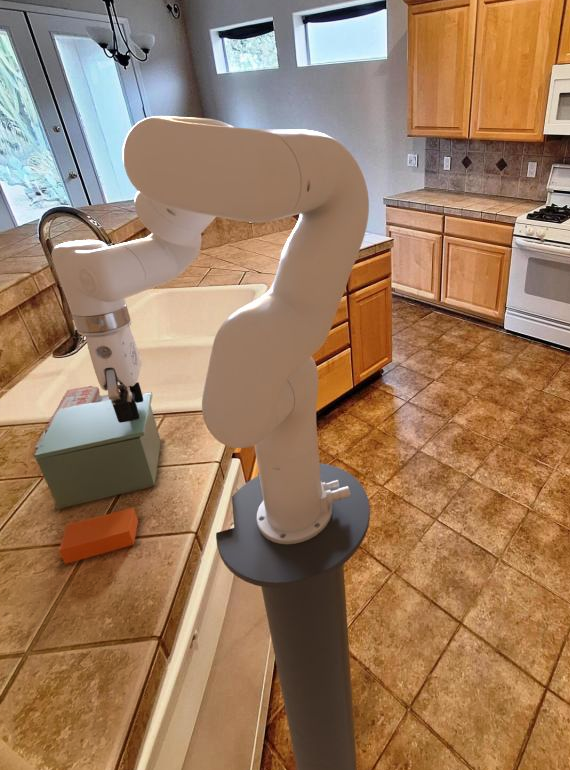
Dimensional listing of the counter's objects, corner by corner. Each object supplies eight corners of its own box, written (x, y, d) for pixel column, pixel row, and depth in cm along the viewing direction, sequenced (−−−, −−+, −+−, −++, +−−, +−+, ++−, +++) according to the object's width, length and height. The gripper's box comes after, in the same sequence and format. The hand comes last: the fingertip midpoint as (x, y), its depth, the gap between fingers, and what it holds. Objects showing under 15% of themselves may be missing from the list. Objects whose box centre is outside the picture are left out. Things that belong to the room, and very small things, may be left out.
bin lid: (152, 395, 85) (146, 374, 83) (144, 435, 73) (137, 412, 71) (59, 413, 79) (50, 391, 77) (35, 459, 68) (24, 435, 66)
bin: (161, 441, 89) (148, 397, 85) (154, 485, 78) (139, 438, 73) (78, 458, 84) (59, 413, 79) (58, 509, 73) (35, 459, 68)
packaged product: (56, 388, 98) (106, 381, 101) (62, 406, 100) (112, 398, 103) (27, 435, 83) (88, 424, 86) (36, 454, 85) (95, 443, 88)
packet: (138, 520, 71) (133, 507, 70) (134, 544, 67) (129, 531, 65) (73, 537, 68) (67, 524, 66) (65, 564, 64) (58, 550, 62)
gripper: (120, 335, 64) (150, 433, 72) (136, 299, 78) (159, 384, 86) (60, 343, 61) (97, 444, 69) (87, 304, 76) (116, 391, 83)
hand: (131, 410), depth 77 cm, fingers closed on bin lid, 5 cm apart
